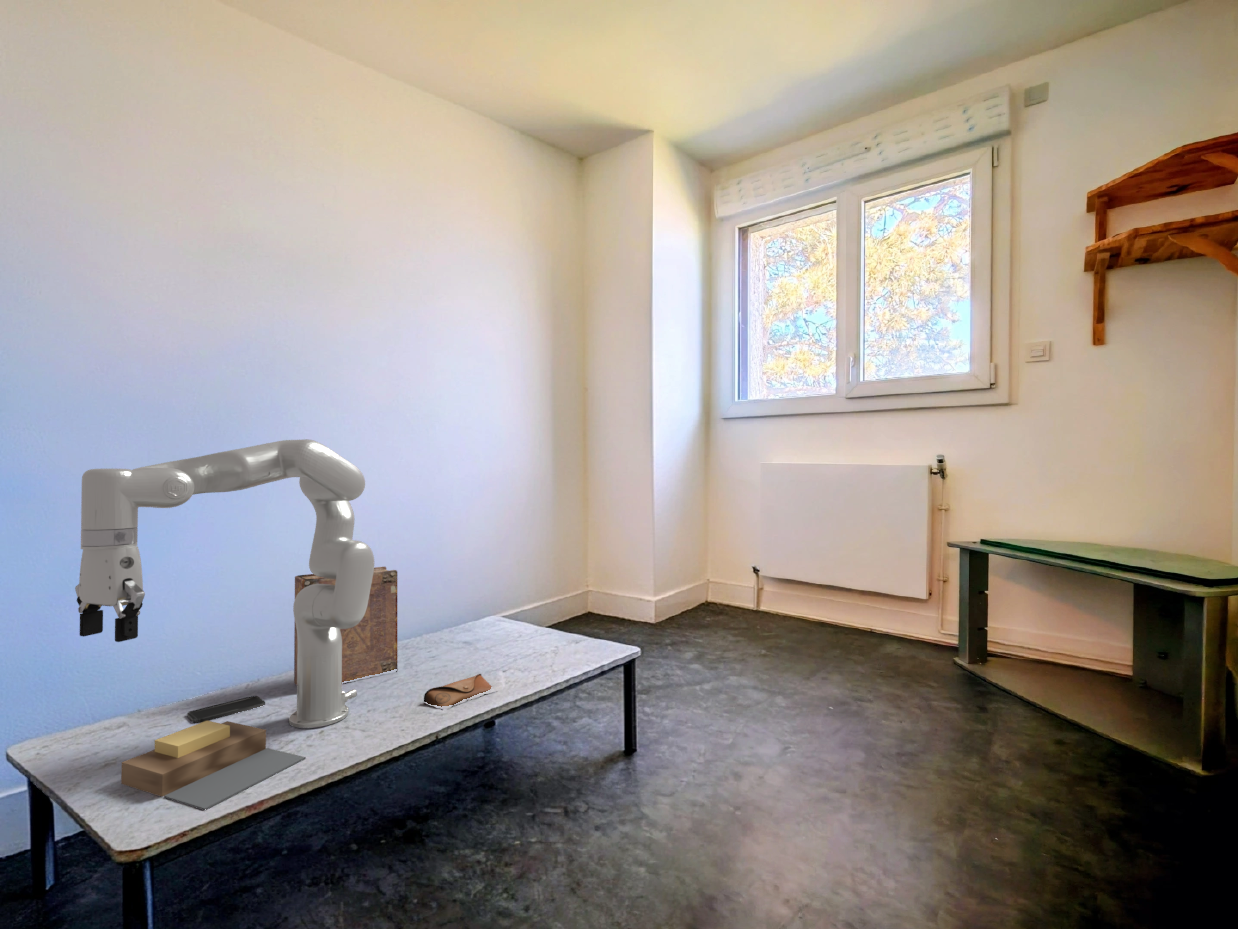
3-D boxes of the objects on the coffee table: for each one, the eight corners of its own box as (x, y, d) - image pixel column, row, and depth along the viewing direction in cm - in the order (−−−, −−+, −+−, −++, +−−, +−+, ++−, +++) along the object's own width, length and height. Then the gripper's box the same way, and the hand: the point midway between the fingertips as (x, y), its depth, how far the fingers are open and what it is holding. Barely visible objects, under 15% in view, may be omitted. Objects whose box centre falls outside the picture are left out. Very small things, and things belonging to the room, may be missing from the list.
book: (386, 664, 180) (386, 566, 181) (397, 672, 173) (398, 569, 174) (293, 684, 163) (294, 575, 164) (302, 693, 156) (303, 579, 157)
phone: (186, 712, 142) (256, 694, 153) (186, 717, 142) (256, 699, 153) (194, 721, 137) (266, 702, 148) (194, 726, 137) (266, 707, 148)
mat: (267, 749, 124) (267, 748, 124) (305, 758, 120) (305, 757, 120) (164, 797, 105) (164, 795, 105) (205, 810, 101) (205, 808, 101)
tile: (207, 731, 124) (207, 720, 124) (229, 736, 121) (229, 725, 121) (154, 751, 114) (154, 740, 114) (177, 758, 112) (178, 746, 112)
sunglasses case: (443, 711, 144) (435, 684, 146) (428, 720, 147) (420, 693, 150) (500, 690, 158) (492, 666, 160) (485, 699, 162) (477, 675, 164)
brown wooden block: (227, 739, 129) (227, 721, 129) (265, 749, 124) (266, 730, 124) (121, 784, 110) (121, 762, 110) (162, 797, 106) (162, 774, 106)
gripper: (165, 538, 103) (164, 636, 103) (104, 535, 110) (103, 627, 109) (116, 543, 96) (114, 648, 96) (53, 539, 103) (52, 638, 102)
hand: (108, 637), depth 103 cm, fingers open, 9 cm apart
